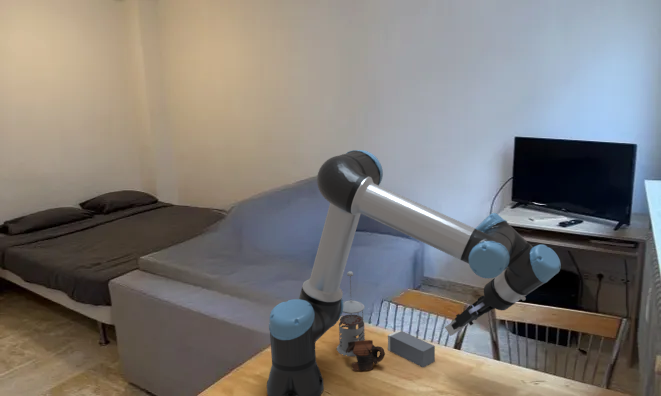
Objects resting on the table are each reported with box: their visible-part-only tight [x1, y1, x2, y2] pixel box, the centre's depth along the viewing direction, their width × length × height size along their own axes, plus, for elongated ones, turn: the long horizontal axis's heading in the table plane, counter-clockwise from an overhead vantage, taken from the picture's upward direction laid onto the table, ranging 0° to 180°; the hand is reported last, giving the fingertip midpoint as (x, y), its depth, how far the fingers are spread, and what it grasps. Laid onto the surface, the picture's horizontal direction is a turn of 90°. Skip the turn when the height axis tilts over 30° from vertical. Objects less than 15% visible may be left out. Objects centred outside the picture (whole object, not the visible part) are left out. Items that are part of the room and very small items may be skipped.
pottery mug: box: [346, 339, 386, 372], centre depth 155 cm, size 12×10×8 cm
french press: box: [336, 271, 366, 357], centre depth 162 cm, size 10×12×25 cm
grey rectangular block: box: [387, 329, 436, 368], centre depth 158 cm, size 5×5×14 cm
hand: (449, 330), depth 145 cm, fingers closed
